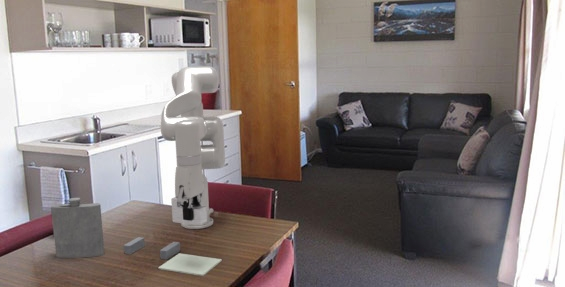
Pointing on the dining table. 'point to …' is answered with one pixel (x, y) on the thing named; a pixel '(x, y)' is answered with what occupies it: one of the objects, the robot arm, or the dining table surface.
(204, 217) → the white pedestal stand
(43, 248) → the dining table surface
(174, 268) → the mat
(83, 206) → the hip flask
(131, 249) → the vise jaws
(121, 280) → the dining table surface
